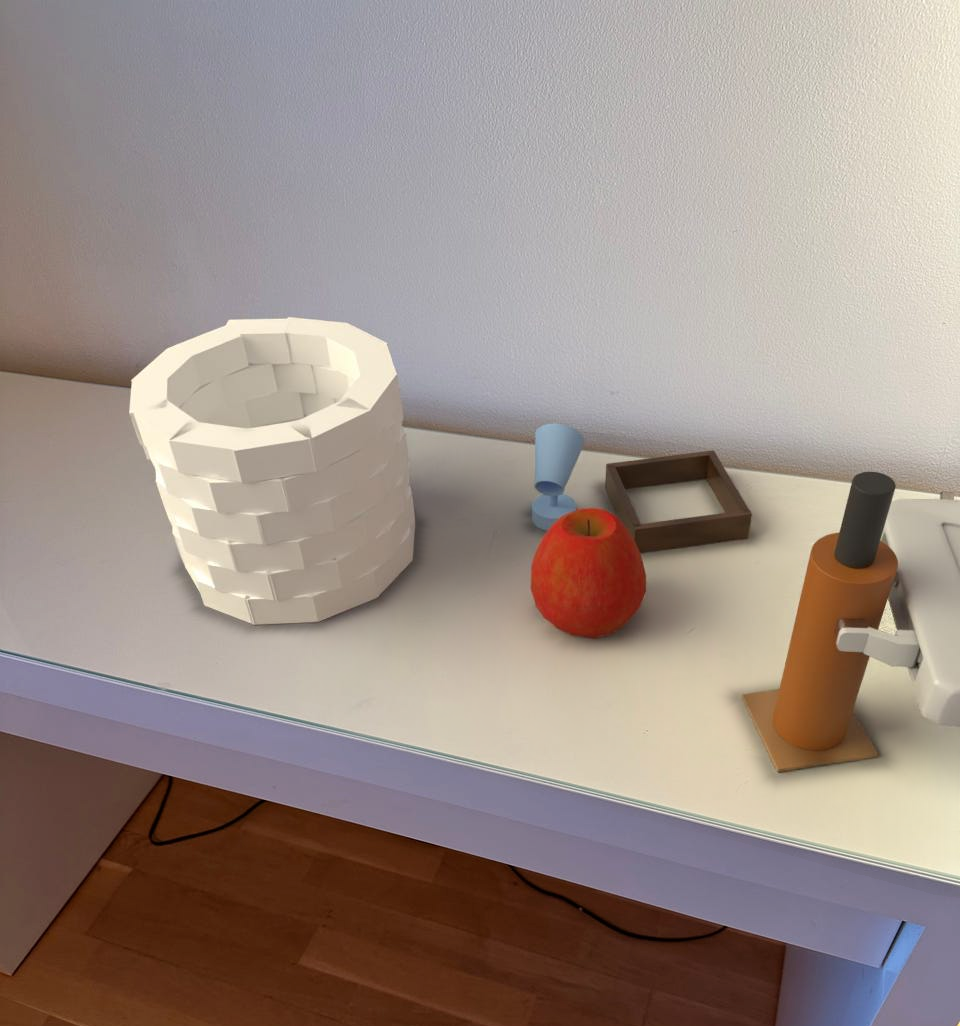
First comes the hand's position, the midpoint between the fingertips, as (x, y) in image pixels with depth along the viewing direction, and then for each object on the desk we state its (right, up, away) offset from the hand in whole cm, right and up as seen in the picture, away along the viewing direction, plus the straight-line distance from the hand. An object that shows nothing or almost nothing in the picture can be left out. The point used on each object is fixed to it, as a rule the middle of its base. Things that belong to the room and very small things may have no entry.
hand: (829, 600), depth 68 cm
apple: (-15, 0, +21) cm, 25 cm away
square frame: (-5, +10, +31) cm, 33 cm away
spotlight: (-17, +10, +31) cm, 37 cm away
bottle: (+2, -9, +9) cm, 13 cm away
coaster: (+2, -10, +9) cm, 13 cm away
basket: (-43, +7, +30) cm, 53 cm away
